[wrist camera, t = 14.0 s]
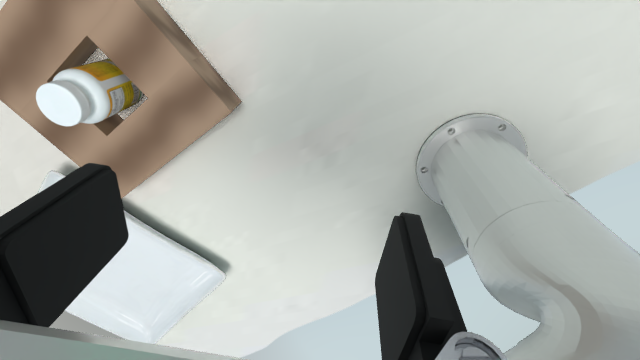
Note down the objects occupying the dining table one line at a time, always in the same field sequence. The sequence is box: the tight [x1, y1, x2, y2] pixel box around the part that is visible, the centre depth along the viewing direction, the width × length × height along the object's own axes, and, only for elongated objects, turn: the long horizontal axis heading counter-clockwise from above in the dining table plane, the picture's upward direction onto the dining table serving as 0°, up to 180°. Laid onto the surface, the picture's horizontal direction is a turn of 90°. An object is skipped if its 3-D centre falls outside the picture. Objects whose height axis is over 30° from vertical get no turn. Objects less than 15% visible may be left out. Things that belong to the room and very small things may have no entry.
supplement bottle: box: [36, 59, 143, 126], centre depth 33 cm, size 5×5×10 cm
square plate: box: [37, 170, 226, 344], centre depth 51 cm, size 27×27×4 cm
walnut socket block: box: [0, 0, 242, 199], centre depth 35 cm, size 20×20×4 cm
